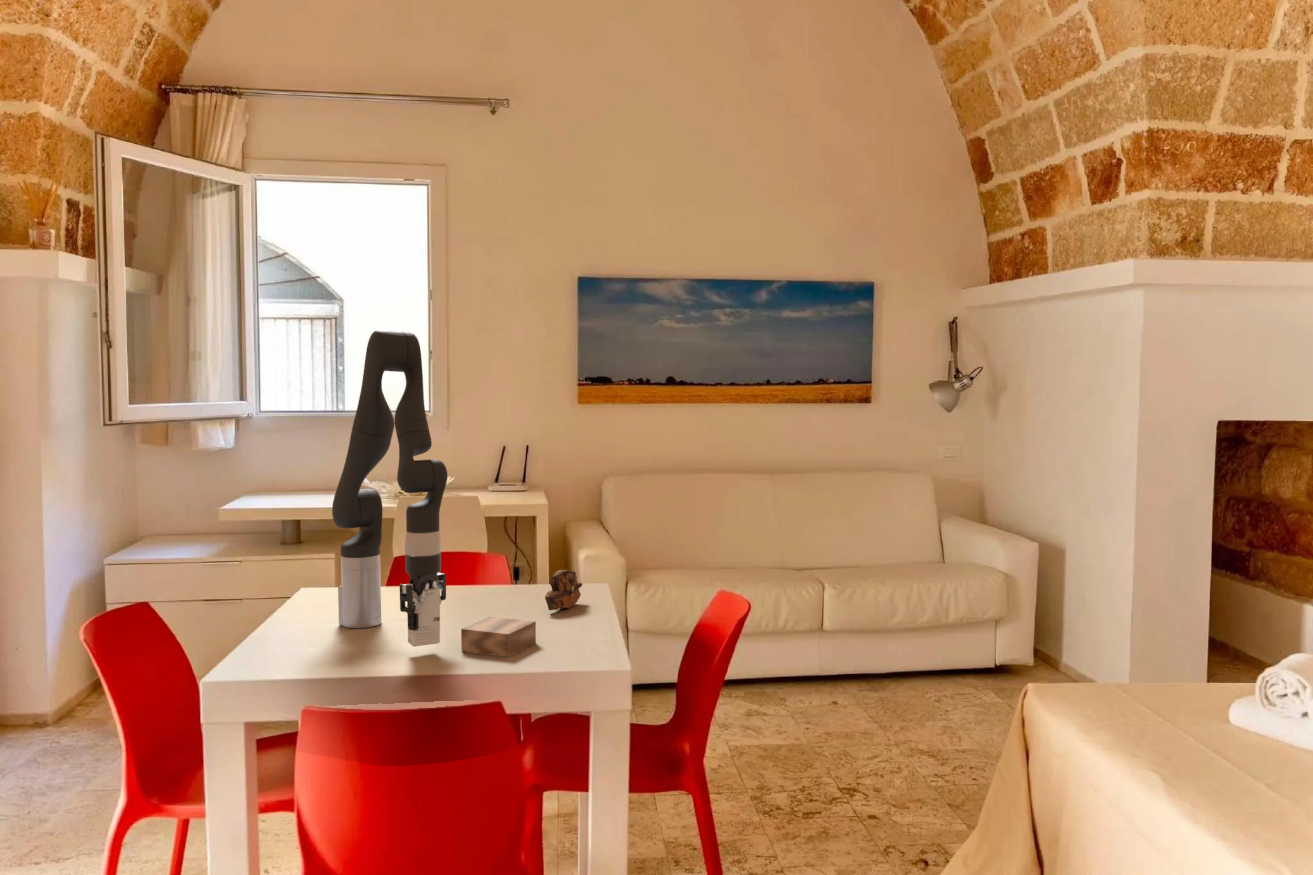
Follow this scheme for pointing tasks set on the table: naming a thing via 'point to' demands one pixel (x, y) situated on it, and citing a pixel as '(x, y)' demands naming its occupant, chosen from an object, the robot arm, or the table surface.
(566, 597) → the wooden carving
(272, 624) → the table surface
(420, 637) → the skincare box
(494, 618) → the walnut block
